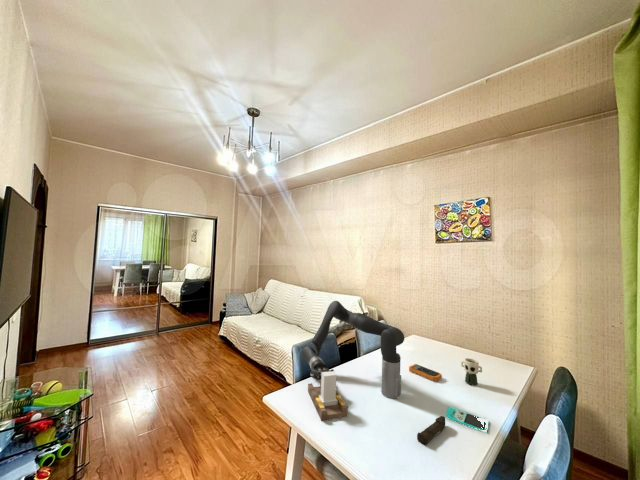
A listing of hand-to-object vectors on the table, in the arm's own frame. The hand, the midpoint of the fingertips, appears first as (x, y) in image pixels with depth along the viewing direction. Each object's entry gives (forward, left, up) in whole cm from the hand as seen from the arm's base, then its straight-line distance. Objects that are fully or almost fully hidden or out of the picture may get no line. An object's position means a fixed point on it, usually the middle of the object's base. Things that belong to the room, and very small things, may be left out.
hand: (327, 381), depth 124 cm
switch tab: (-1, +1, -8) cm, 9 cm away
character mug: (-56, -68, -11) cm, 89 cm away
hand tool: (-45, -9, -11) cm, 47 cm away
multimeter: (-32, -63, -11) cm, 71 cm away
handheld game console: (-56, -28, -11) cm, 64 cm away
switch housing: (0, 0, -10) cm, 11 cm away
